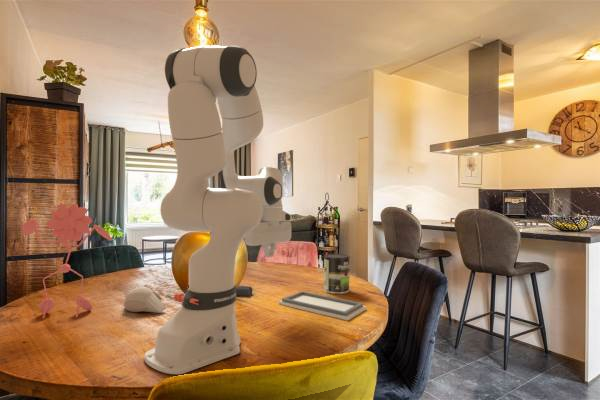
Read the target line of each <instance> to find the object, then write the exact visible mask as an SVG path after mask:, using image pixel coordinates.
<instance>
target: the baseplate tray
mask: <svg viewBox="0 0 600 400" xmlns="http://www.w3.org/2000/svg"><path fill="white" fill-rule="evenodd" d="M278 305H281V306H284V307H285V306H286V307H290V308H292V309H293V308H294V309H297V310H298V309H299V310H302V311H304V312H305V311H306V312H309V313H314V314H318V315H322V316H327V317H331V318H336V319H340V320H344V321H348V322H349V320H351V319H353V318H354V317H356V316H358V315H359V314H361V313H363V312H364V311H366V310H367V306H366V305H364V304H363V302H358V301H355V300H349V299H345V298H338V297H334V296H328V295H323V294H319V293H314V292H309V291H303V290H300V291H298V292H296V293H293V294H290V295H287V296H285V297H281V299H280V300H278Z"/></svg>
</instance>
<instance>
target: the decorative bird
mask: <svg viewBox="0 0 600 400" xmlns="http://www.w3.org/2000/svg"><path fill="white" fill-rule="evenodd" d="M124 297H125V298H124V304H123V306H124V308H125V310H127V311H129V312H132V313H140V312H146V313H156V314H157V313H159V314H160V313H162V312H163V311H165V310H166V309H167V306H166V305H165V304H164V302H162V297H161V295H160V294H159V293H158V292H156V291H154V290H153V289H150V288H149V287H146V286H138V287H135V288H133V289H131V290H130V291H128V293H127V294H126V293H125V295H124Z"/></svg>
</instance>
